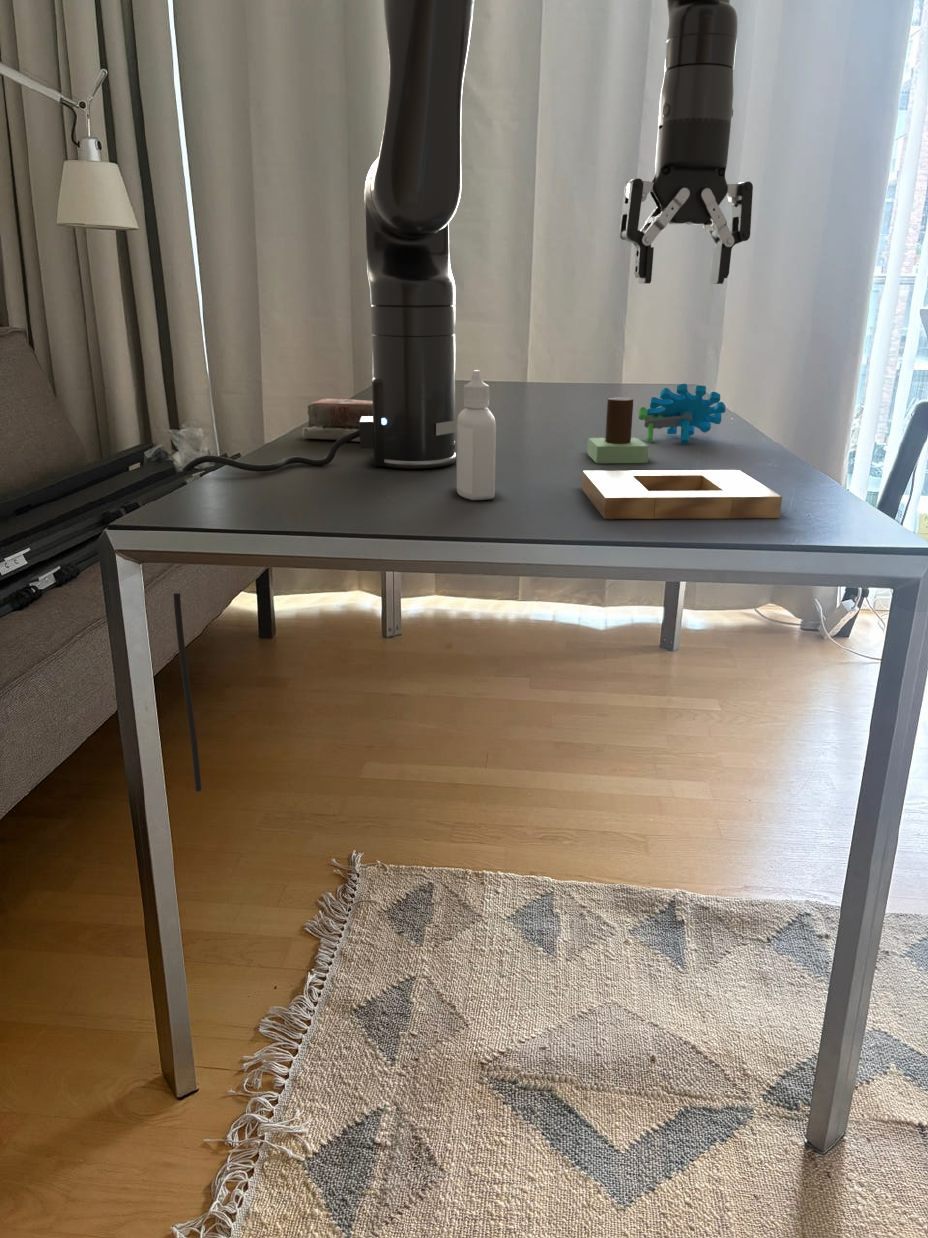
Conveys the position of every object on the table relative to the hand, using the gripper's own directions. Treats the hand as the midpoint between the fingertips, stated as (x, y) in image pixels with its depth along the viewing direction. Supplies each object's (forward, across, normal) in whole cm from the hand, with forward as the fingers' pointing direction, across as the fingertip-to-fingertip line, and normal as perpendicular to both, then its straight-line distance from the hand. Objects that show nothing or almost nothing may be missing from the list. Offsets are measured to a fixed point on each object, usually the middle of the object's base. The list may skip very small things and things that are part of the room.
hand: (680, 283), depth 104 cm
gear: (+20, -7, -13) cm, 25 cm away
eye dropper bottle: (+20, +26, +15) cm, 36 cm away
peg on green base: (+20, +6, -1) cm, 21 cm away
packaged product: (+20, +32, -21) cm, 43 cm away
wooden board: (+20, +8, +22) cm, 30 cm away
